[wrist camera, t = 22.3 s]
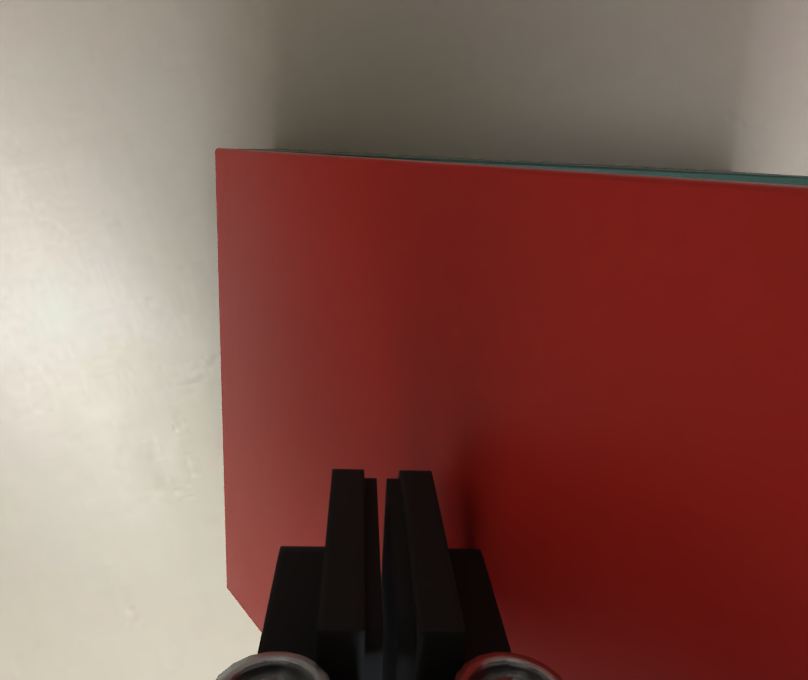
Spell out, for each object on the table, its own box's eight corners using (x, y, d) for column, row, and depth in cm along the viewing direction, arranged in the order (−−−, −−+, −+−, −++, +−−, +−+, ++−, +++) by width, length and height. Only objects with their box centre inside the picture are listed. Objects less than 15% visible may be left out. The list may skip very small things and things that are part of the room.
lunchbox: (732, 171, 26) (881, 180, 18) (680, 467, 29) (788, 576, 22) (272, 149, 25) (233, 149, 17) (274, 460, 28) (242, 573, 21)
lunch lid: (2004, 261, 3) (2144, 275, 2) (1091, 1573, 6) (1073, 1693, 6) (245, 149, 17) (213, 147, 17) (252, 578, 20) (226, 588, 20)
